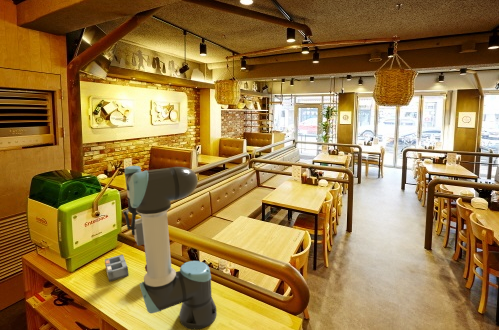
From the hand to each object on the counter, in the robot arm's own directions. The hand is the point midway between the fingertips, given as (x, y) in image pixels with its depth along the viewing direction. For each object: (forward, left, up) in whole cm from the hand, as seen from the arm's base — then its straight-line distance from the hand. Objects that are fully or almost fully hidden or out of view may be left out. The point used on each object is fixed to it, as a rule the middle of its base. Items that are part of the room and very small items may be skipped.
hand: (140, 238), depth 148 cm
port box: (+4, +13, -17) cm, 21 cm away
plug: (0, 0, -3) cm, 3 cm away
